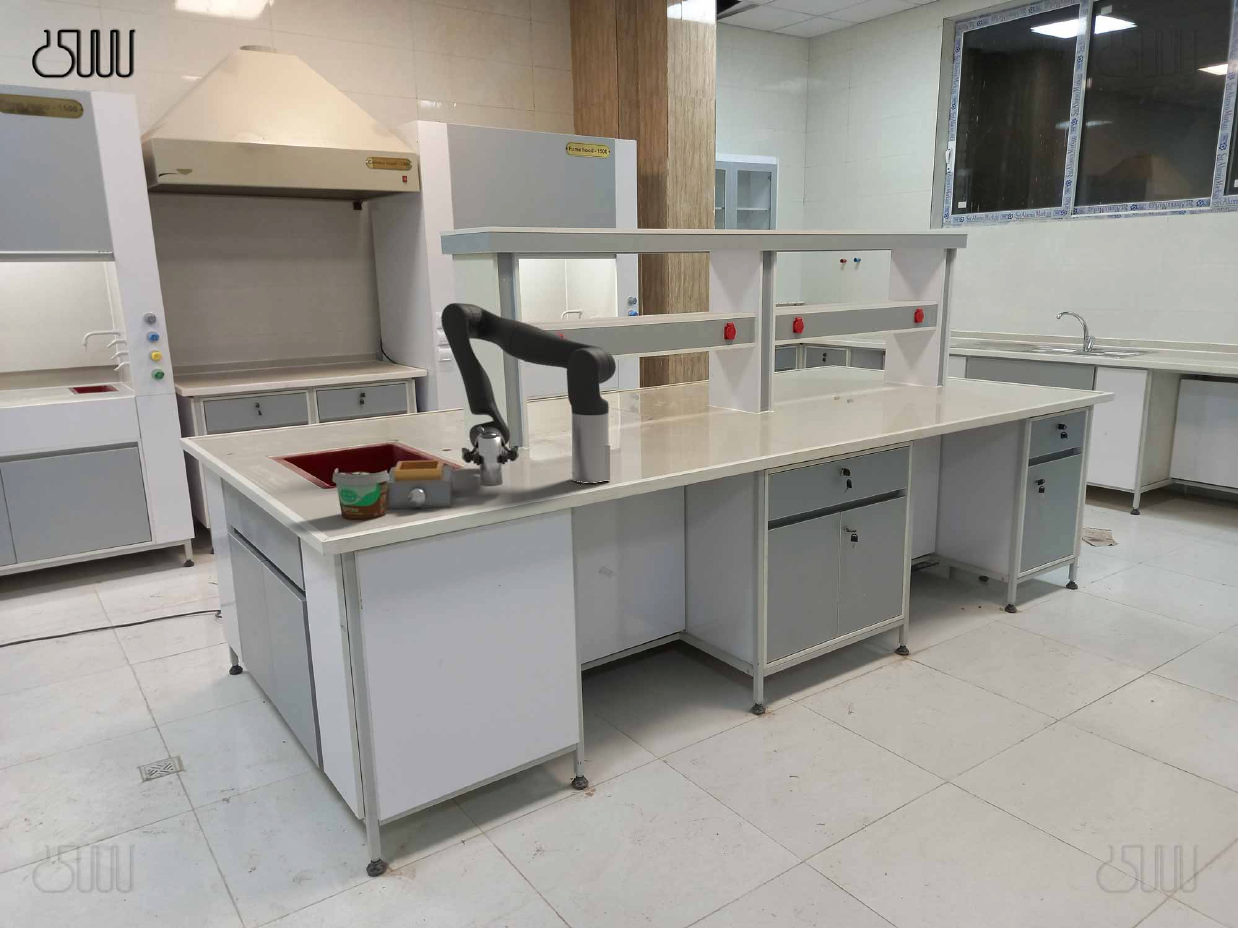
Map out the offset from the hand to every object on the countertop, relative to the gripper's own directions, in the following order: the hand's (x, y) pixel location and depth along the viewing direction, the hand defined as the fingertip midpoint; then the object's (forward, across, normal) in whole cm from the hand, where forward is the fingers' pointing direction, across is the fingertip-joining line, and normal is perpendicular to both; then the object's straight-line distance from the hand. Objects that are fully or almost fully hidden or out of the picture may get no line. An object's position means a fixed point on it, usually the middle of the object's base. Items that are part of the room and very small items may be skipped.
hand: (490, 460), depth 196 cm
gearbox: (0, -16, +9) cm, 19 cm away
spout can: (-3, 0, +6) cm, 7 cm away
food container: (+12, -28, +9) cm, 32 cm away
